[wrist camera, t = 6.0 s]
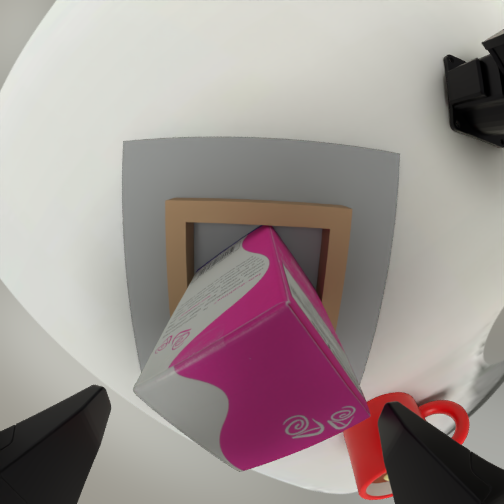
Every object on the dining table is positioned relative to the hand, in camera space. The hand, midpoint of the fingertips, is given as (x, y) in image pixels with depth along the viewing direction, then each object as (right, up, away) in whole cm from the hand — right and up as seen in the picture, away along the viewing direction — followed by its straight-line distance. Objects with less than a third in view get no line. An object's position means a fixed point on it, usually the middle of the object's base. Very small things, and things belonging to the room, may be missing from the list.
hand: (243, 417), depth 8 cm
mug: (+15, -11, +15) cm, 24 cm away
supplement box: (+1, +3, +11) cm, 12 cm away
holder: (+1, +3, +12) cm, 12 cm away
